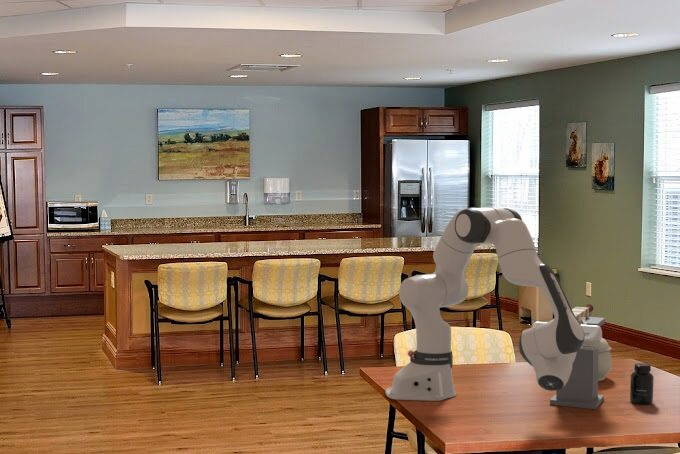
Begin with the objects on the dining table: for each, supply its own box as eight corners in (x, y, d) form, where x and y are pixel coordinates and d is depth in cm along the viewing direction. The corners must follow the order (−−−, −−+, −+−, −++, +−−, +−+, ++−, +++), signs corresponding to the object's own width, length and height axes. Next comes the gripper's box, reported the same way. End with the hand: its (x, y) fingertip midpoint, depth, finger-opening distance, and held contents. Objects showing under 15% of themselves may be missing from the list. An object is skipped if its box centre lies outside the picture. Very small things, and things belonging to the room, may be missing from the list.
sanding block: (574, 326, 290) (575, 316, 290) (561, 325, 292) (561, 315, 292) (588, 317, 309) (588, 307, 309) (575, 316, 311) (575, 306, 311)
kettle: (605, 386, 328) (606, 312, 327) (550, 381, 336) (551, 309, 335) (618, 372, 351) (620, 303, 349) (567, 368, 359) (568, 300, 357)
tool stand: (596, 409, 297) (597, 323, 296) (549, 404, 303) (551, 320, 302) (603, 400, 309) (605, 317, 307) (559, 395, 315) (560, 315, 313)
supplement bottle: (637, 405, 302) (638, 367, 301) (625, 400, 308) (626, 362, 308) (657, 404, 304) (658, 365, 303) (645, 399, 310) (645, 361, 309)
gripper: (597, 341, 278) (605, 311, 288) (526, 336, 286) (536, 307, 297) (599, 359, 281) (607, 328, 291) (528, 353, 290) (538, 324, 300)
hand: (570, 318), depth 294 cm, fingers open, 6 cm apart
